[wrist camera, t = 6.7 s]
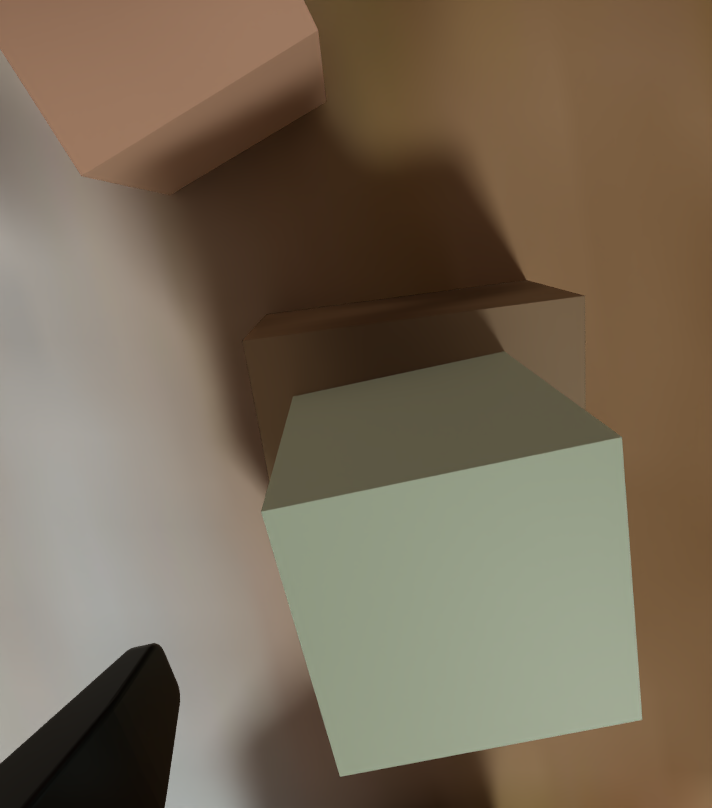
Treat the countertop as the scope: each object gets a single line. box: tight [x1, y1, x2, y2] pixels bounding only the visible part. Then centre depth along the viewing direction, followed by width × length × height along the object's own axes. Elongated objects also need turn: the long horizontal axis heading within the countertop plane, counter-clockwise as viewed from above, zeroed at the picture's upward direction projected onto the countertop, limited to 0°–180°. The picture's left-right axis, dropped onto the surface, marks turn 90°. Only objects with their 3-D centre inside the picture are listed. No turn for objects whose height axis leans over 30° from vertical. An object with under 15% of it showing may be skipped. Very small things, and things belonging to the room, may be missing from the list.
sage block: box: [261, 351, 642, 777], centre depth 10 cm, size 4×4×5 cm
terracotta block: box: [0, 0, 326, 195], centre depth 11 cm, size 4×4×5 cm
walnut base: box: [242, 280, 585, 482], centre depth 14 cm, size 7×7×4 cm
